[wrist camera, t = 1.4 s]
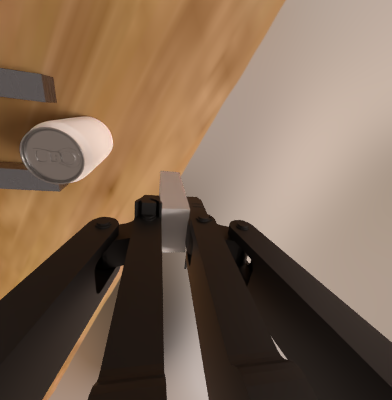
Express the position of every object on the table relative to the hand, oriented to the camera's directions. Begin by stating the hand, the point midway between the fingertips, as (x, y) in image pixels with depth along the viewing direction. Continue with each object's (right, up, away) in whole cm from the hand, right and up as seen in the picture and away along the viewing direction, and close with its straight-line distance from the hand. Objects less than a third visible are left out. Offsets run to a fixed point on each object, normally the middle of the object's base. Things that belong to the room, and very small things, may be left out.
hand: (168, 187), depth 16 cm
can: (-14, +8, +14) cm, 21 cm away
